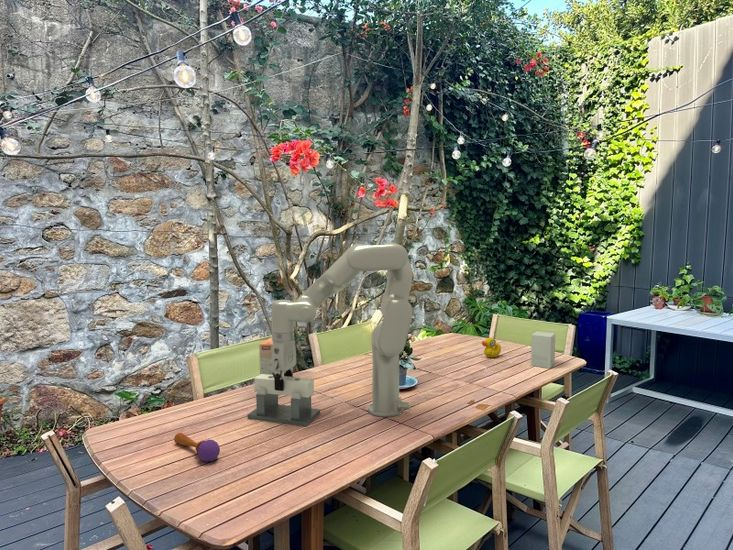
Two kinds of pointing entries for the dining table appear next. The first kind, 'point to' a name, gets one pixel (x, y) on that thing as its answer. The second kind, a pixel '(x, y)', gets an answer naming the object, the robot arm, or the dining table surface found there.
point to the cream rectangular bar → (285, 385)
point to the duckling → (491, 348)
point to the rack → (283, 409)
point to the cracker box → (266, 357)
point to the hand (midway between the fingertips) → (283, 386)
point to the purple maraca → (200, 447)
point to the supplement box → (543, 349)
